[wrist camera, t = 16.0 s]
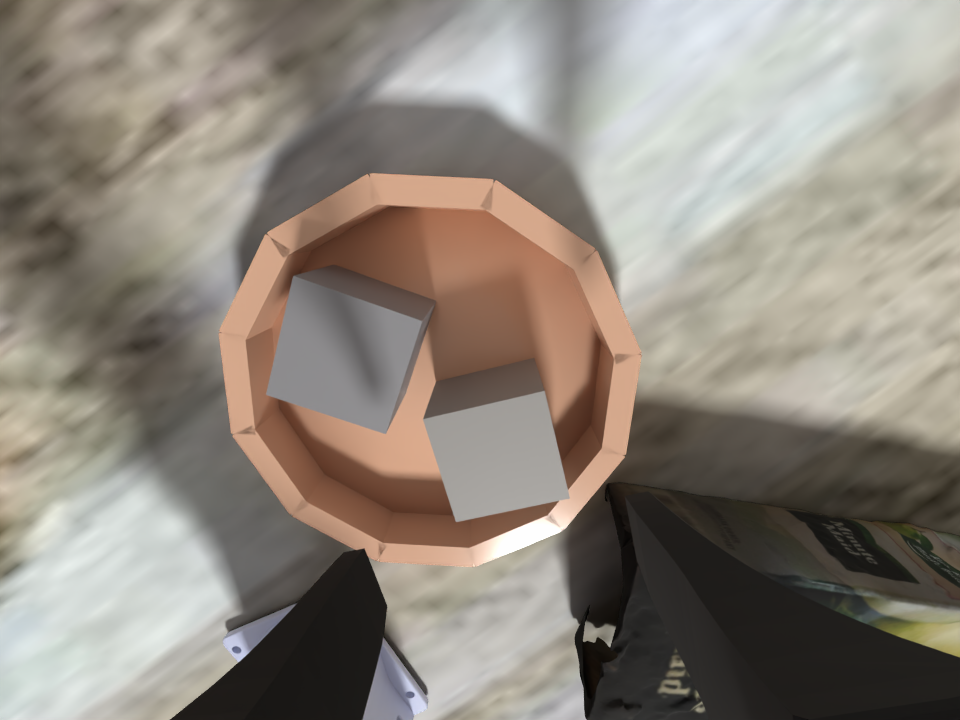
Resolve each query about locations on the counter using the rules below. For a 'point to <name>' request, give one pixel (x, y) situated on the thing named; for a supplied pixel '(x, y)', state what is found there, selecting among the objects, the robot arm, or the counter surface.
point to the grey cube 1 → (348, 346)
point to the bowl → (434, 361)
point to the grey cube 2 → (495, 441)
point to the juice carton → (790, 562)
